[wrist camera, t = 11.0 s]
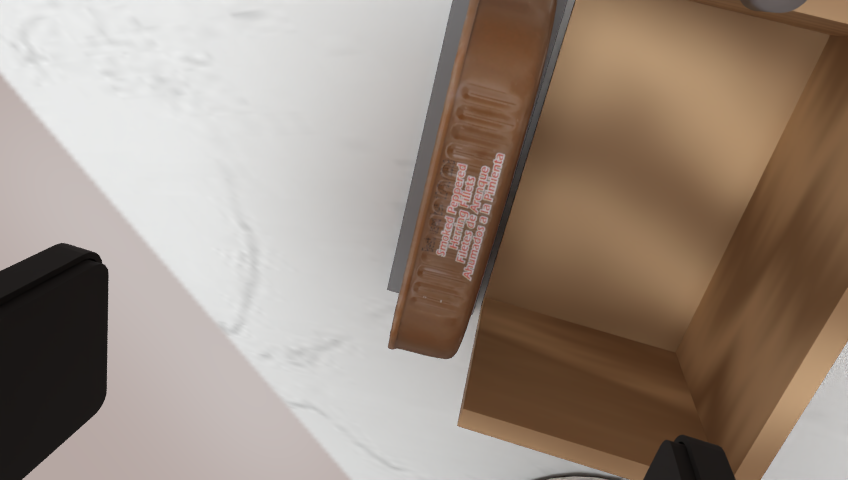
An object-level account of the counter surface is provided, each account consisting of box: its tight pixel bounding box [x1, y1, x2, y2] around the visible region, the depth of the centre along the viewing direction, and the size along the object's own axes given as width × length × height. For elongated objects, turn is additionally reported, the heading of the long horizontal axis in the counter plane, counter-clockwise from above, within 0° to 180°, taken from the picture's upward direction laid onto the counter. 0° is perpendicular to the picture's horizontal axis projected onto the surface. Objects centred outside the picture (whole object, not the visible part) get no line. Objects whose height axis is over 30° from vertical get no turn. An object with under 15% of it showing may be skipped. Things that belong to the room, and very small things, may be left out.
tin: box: [388, 0, 557, 359], centre depth 22 cm, size 15×3×8 cm, turn 167°
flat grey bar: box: [387, 0, 567, 315], centre depth 26 cm, size 17×4×1 cm, turn 167°
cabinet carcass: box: [457, 0, 848, 480], centre depth 21 cm, size 16×10×10 cm, turn 167°
